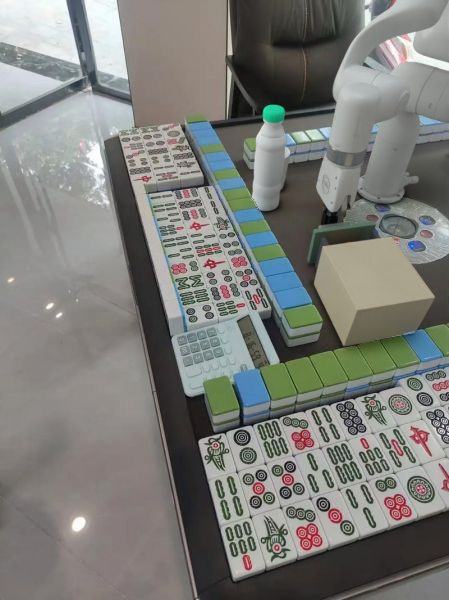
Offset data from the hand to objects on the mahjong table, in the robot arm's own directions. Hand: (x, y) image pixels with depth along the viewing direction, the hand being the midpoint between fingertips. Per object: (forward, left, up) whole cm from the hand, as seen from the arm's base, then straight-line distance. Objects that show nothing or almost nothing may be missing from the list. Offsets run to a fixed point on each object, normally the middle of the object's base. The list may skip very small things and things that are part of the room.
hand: (328, 225), depth 98 cm
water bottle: (+10, -17, -5) cm, 20 cm away
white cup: (+6, -25, -5) cm, 26 cm away
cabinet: (0, +21, -5) cm, 22 cm away
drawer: (0, +12, -4) cm, 12 cm away
